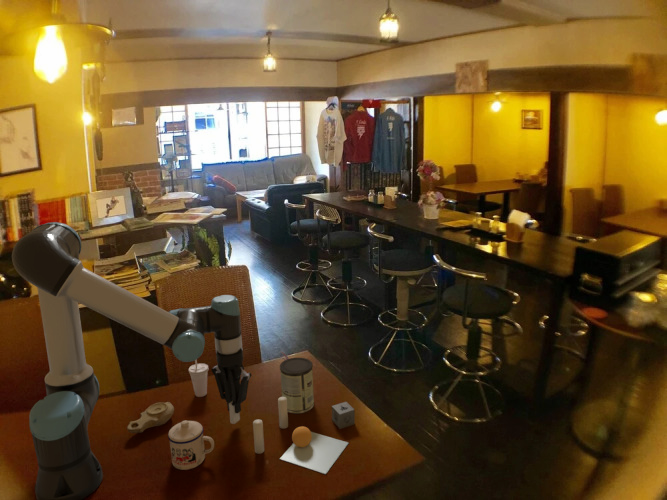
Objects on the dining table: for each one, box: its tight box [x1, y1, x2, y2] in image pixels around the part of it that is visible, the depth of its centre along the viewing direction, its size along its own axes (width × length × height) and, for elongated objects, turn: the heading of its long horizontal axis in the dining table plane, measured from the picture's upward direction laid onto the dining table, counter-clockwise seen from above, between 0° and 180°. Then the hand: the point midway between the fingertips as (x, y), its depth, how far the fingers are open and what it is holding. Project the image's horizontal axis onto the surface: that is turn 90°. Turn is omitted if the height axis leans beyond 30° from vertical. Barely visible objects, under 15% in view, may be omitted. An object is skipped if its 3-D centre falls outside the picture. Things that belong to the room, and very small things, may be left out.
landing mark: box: [279, 431, 349, 475], centre depth 138 cm, size 14×14×1 cm
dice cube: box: [331, 401, 356, 430], centre depth 150 cm, size 5×5×5 cm
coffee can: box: [279, 357, 315, 414], centre depth 159 cm, size 10×10×14 cm
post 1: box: [252, 419, 265, 455], centre depth 138 cm, size 3×3×9 cm
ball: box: [291, 425, 312, 447], centre depth 140 cm, size 6×6×6 cm
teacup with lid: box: [167, 420, 215, 471], centre depth 134 cm, size 12×9×12 cm
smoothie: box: [188, 359, 210, 398], centre depth 166 cm, size 6×6×14 cm
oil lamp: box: [126, 401, 175, 434], centre depth 151 cm, size 11×14×5 cm
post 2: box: [277, 396, 289, 429], centre depth 149 cm, size 3×3×9 cm
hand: (235, 420), depth 150 cm, fingers closed
